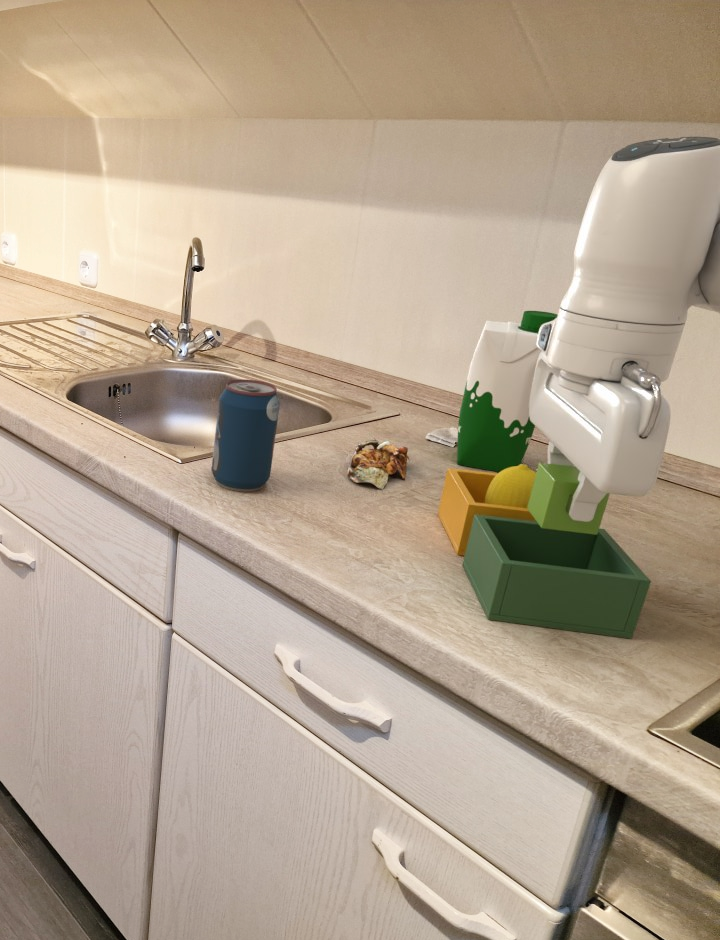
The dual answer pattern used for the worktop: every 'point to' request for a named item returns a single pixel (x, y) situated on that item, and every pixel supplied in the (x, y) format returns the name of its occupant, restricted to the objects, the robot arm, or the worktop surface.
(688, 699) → the worktop surface
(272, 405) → the soda can
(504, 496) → the lemon
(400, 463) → the pastry
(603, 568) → the green bin
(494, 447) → the milk carton
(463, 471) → the ochre bin
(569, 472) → the green block
